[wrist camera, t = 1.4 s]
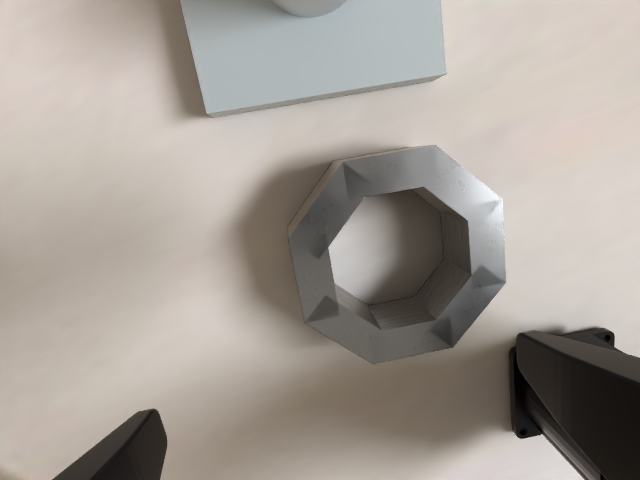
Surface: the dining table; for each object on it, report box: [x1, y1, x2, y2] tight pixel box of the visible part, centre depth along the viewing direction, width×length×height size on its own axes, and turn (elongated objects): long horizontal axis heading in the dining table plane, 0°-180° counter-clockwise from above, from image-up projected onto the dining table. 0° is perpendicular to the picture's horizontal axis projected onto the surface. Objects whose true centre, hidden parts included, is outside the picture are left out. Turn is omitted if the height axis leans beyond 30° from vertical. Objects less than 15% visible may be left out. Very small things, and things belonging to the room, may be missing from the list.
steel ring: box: [288, 145, 506, 364], centre depth 18 cm, size 10×10×3 cm
